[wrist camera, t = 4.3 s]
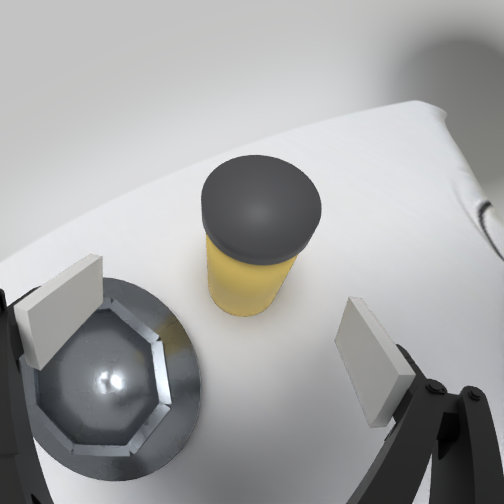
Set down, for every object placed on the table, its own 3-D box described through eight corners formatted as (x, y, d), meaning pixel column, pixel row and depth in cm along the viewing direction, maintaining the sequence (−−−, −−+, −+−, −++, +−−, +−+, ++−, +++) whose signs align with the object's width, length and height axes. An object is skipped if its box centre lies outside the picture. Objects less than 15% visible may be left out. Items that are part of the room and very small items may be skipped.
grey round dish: (101, 257, 26) (87, 237, 22) (242, 366, 23) (246, 360, 20) (5, 380, 19) (-19, 374, 15) (132, 507, 16) (119, 522, 13)
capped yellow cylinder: (233, 238, 28) (246, 140, 18) (292, 275, 27) (339, 192, 17) (191, 290, 25) (175, 206, 15) (253, 333, 24) (284, 277, 14)
